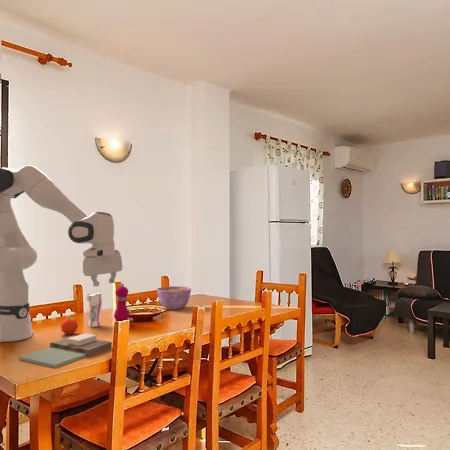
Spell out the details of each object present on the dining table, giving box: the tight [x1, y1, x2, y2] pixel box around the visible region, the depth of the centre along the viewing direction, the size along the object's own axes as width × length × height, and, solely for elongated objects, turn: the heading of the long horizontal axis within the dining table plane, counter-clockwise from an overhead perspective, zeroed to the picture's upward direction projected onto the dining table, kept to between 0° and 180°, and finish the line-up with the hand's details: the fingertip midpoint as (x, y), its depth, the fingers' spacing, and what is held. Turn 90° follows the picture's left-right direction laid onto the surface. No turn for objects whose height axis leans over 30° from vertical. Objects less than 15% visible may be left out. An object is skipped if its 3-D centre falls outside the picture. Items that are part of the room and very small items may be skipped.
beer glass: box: [86, 292, 103, 328], centre depth 198 cm, size 7×7×15 cm
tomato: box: [60, 317, 79, 335], centre depth 183 cm, size 8×7×7 cm
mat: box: [18, 346, 87, 369], centre depth 150 cm, size 18×14×1 cm
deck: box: [49, 335, 113, 358], centre depth 161 cm, size 20×12×2 cm, turn 63°
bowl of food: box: [156, 285, 192, 311], centre depth 242 cm, size 20×20×12 cm
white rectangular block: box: [66, 332, 97, 346], centre depth 162 cm, size 6×9×2 cm, turn 153°
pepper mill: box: [113, 282, 130, 323], centre depth 201 cm, size 7×7×20 cm
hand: (104, 284), depth 172 cm, fingers open, 8 cm apart
